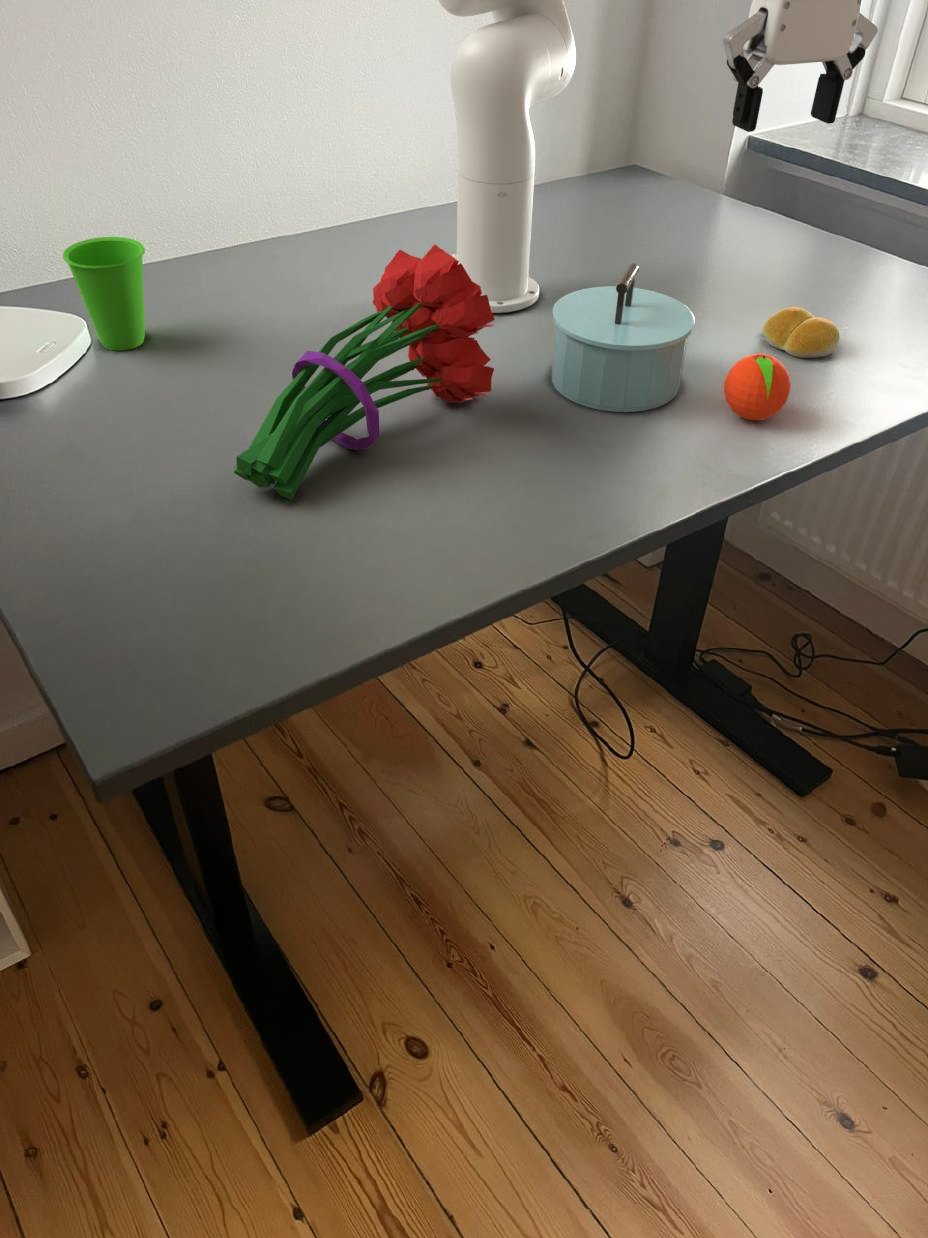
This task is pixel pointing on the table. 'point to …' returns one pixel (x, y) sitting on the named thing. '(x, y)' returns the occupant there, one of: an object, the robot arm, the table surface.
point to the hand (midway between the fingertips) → (783, 123)
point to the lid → (623, 316)
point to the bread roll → (801, 333)
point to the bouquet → (438, 348)
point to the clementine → (757, 387)
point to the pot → (616, 374)
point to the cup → (111, 288)
